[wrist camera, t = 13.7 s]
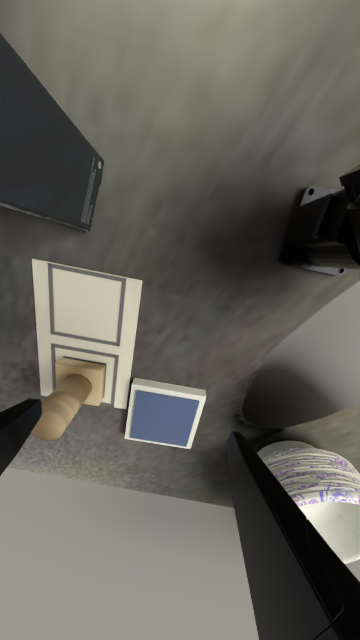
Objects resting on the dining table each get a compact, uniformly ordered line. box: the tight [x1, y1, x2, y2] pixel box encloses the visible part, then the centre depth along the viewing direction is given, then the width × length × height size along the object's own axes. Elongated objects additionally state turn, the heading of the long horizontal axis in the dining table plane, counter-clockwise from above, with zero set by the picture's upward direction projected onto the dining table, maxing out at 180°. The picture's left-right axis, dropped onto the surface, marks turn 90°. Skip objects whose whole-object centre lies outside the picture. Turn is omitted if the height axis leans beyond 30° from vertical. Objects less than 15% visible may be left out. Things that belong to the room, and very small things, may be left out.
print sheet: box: [32, 259, 143, 409], centre depth 21 cm, size 11×17×1 cm, turn 169°
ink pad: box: [125, 378, 206, 449], centre depth 24 cm, size 9×9×2 cm
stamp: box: [31, 356, 107, 440], centre depth 19 cm, size 5×5×7 cm
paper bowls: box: [257, 441, 360, 564], centre depth 24 cm, size 15×15×8 cm
